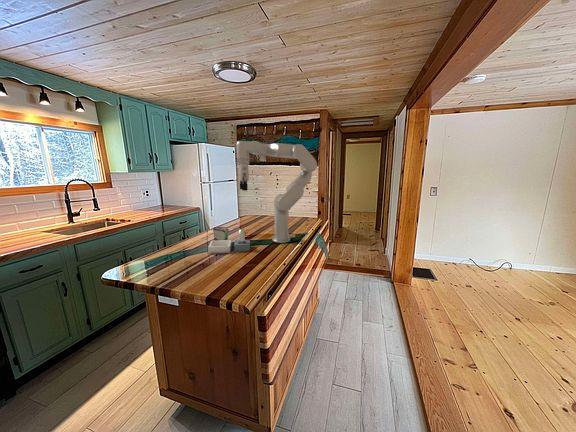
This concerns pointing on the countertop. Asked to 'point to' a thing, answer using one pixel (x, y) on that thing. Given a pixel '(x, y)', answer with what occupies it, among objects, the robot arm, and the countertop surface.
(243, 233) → the steel pin
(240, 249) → the block
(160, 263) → the countertop surface
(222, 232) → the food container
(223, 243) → the parts tray
